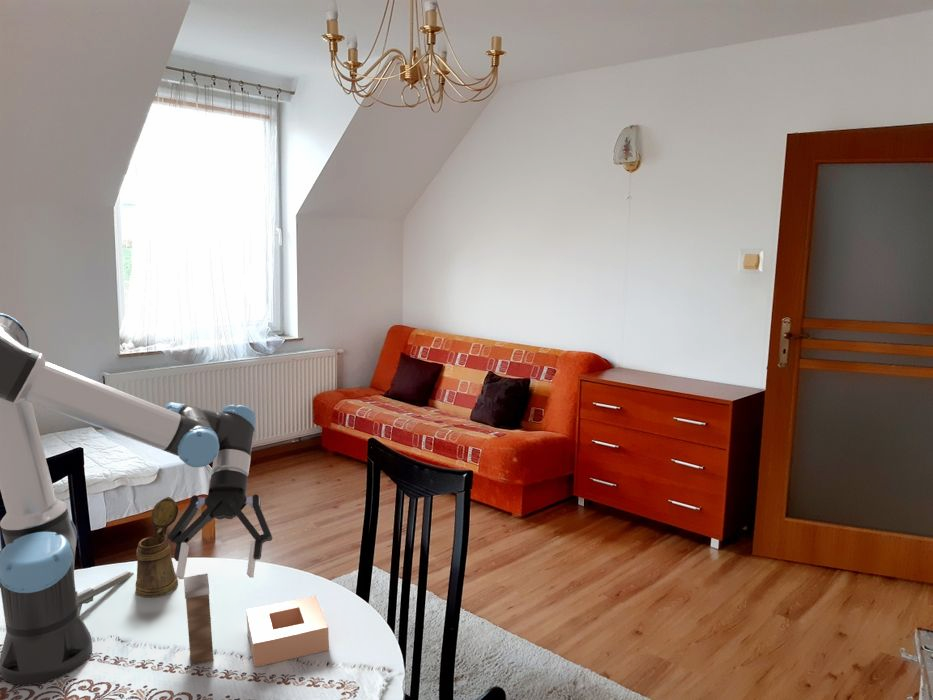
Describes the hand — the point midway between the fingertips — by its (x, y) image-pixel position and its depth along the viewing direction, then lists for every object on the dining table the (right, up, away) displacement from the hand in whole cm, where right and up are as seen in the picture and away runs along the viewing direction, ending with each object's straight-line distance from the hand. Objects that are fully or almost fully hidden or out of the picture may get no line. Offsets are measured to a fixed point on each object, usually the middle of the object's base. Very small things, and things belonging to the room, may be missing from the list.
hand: (215, 576), depth 140 cm
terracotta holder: (+14, -13, +2) cm, 19 cm away
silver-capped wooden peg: (-1, -14, -4) cm, 15 cm away
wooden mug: (-20, -9, +23) cm, 31 cm away
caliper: (-30, -10, +16) cm, 36 cm away
